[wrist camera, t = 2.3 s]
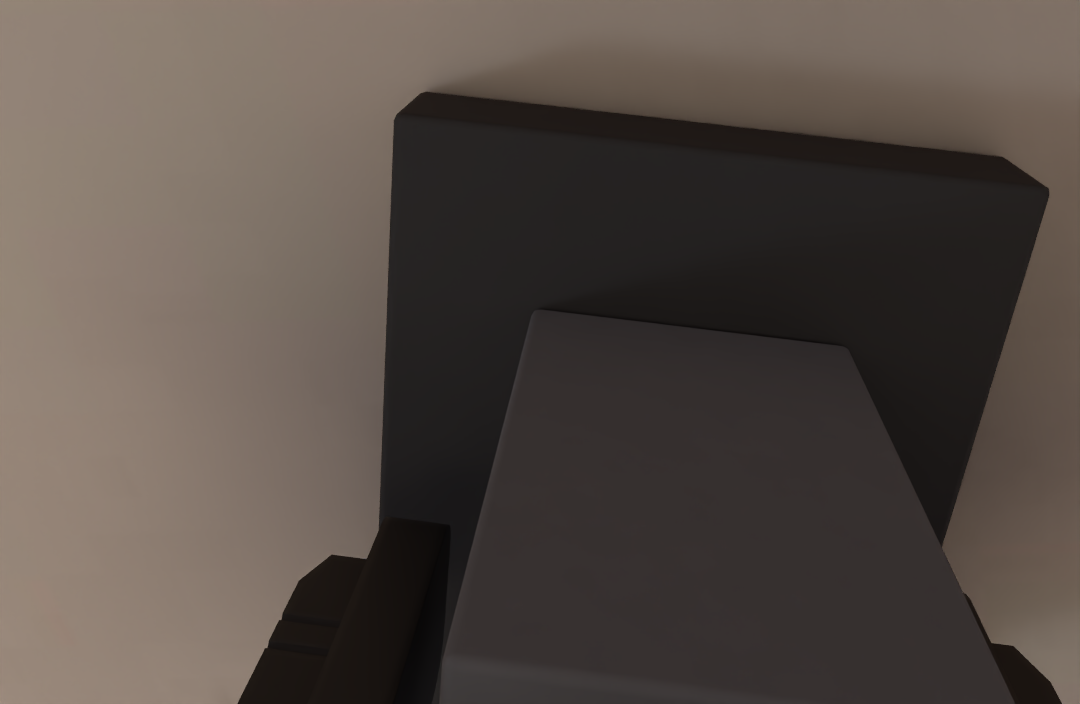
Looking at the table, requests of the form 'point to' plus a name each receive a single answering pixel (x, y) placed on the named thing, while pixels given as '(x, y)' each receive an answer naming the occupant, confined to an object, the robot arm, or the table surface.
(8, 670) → the table surface
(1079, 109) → the table surface
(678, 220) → the pad
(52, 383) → the table surface
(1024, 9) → the table surface
